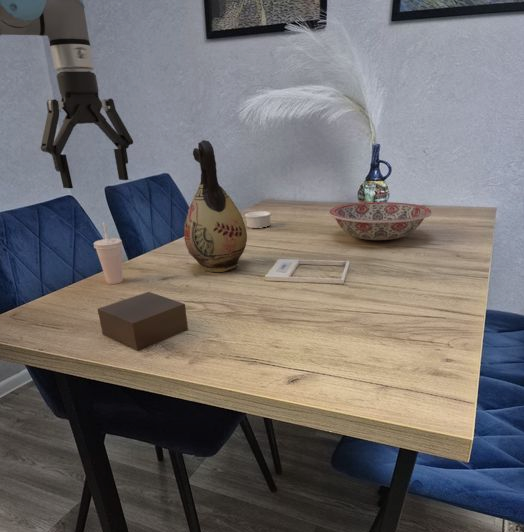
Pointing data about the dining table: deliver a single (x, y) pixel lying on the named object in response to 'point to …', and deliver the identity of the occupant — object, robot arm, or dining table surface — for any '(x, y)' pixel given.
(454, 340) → the dining table surface
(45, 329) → the dining table surface
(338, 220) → the ceramic bowl
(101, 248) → the smoothie
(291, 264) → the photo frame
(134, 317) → the block
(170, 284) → the dining table surface
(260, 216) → the ramekin
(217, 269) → the ceramic jug
